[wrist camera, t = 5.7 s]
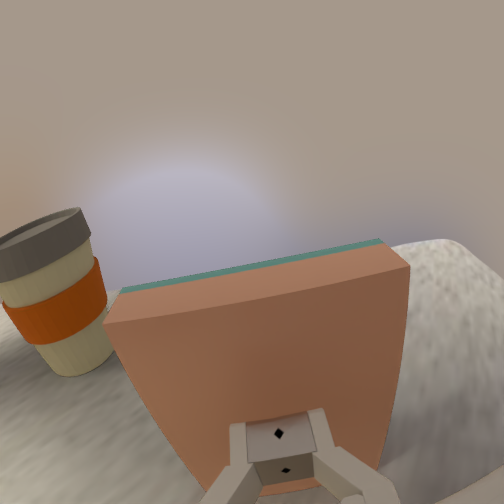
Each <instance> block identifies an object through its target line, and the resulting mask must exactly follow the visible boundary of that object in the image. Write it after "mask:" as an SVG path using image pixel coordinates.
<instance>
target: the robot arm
mask: <svg viewBox="0 0 504 504" xmlns="http://www.w3.org/2000/svg"><path fill="white" fill-rule="evenodd" d="M229 434H230V466H225V468H224V469H223V471H222V472H221V473H220V475H219V476H218V478H217V479H216V480H215V482H214V483H213V484H212V486H211V487H210V488H209V490H208V491H207V492H206V494H205V495H204V496H203V498H202V499H201V500H200V502H199V503H198V504H255V502H256V500H257V498H258V497H259V495H260V493H261V491H262V489H263V486H266V485H272V484H278V483H283V482H288V480H289V481H295V480H301V479H306V478H312V477H314V478H315V479H316V480H317V481H318V482H319V483H320V484H322V485H323V486H324V487H325V488H326V489H327V490H328V491H329V492H330V493H332V494H333V495H334V496H335V497H336V498H337V499H338V500H340V501H341V502H340V504H401V503H400V500H399V497H398V495H397V492H396V489H395V487H394V484H393V482H392V481H390V480H389V479H387V478H386V477H384V476H383V475H381V474H380V473H378V472H377V471H375V470H374V469H372V468H371V467H369V466H368V465H366V464H365V463H363V462H362V461H360V460H359V459H357V458H356V457H355V456H353V455H352V454H350V453H349V452H347V451H346V450H345V449H343V448H342V447H340V446H338V447H335V445H334V441H333V438H332V435H331V431H330V428H329V425H328V421H327V418H326V415H325V412H324V409H323V408H318V409H314V410H309V411H303V412H298V413H294V414H289V415H284V416H279V417H276V418H271V419H264V420H257V421H249V422H241V423H233V424H230V428H229ZM434 504H504V465H502V466H501V467H499V468H498V469H496V470H494V471H493V472H491V473H490V474H488V475H486V476H485V477H483V478H481V479H480V480H478V481H476V482H475V483H473V484H471V485H469V486H467V487H466V488H464V489H462V490H460V491H458V492H456V493H454V494H452V495H450V496H448V497H446V498H444V499H442V500H440V501H438V502H436V503H434Z"/></svg>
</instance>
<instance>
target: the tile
mask: <svg viewBox="0 0 504 504" xmlns="http://www.w3.org/2000/svg"><path fill="white" fill-rule="evenodd" d="M409 282H410V265H409V264H408V263H407V262H406V261H405V260H404V259H402V258H401V257H400V256H399V255H398V254H397V253H396V252H394V251H393V250H392V249H391V248H390V247H389V246H387V245H386V244H385V243H384V242H383V241H381V240H380V239H379V238H378V239H374V240H369V241H364V242H359V243H355V244H349V245H344V246H339V247H334V248H329V249H324V250H319V251H315V252H309V253H304V254H299V255H294V256H289V257H284V258H278V259H274V260H268V261H263V262H258V263H253V264H247V265H243V266H237V267H232V268H227V269H221V270H216V271H211V272H206V273H200V274H195V275H190V276H184V277H179V278H174V279H168V280H163V281H157V282H153V283H147V284H141V285H136V286H130V287H125V288H122V290H121V292H120V293H119V295H118V297H117V298H116V300H115V302H114V304H113V305H112V307H111V309H110V311H109V312H108V314H107V316H106V318H105V320H104V321H103V323H102V326H103V328H104V330H105V332H106V334H107V336H108V338H109V340H110V342H111V344H112V346H113V348H114V350H115V352H116V354H117V356H118V358H119V360H120V362H121V363H122V365H123V367H124V369H125V371H126V373H127V374H128V376H129V378H130V380H131V382H132V383H133V385H134V387H135V389H136V390H137V392H138V394H139V395H140V397H141V399H142V400H143V402H144V404H145V405H146V407H147V409H148V410H149V412H150V414H151V415H152V417H153V418H154V420H155V421H156V423H157V424H158V426H159V428H160V429H161V431H162V432H163V434H164V435H165V437H166V438H167V440H168V441H169V442H170V444H171V445H172V447H173V448H174V450H175V451H176V452H177V454H178V455H179V457H180V458H181V459H182V461H183V462H184V464H185V465H186V466H187V468H188V469H189V470H190V472H191V473H192V474H193V476H194V477H195V478H196V479H197V481H198V482H199V483H200V484H201V486H202V487H203V488H204V489H205V491H206V492H207V491H208V490H209V488H210V487H211V486H212V484H213V483H214V482H215V480H216V479H217V478H218V476H219V475H220V473H221V472H222V471H223V469H224V468H225V466H230V434H229V428H230V424H233V423H241V422H249V421H257V420H264V419H271V418H276V417H279V416H284V415H289V414H294V413H298V412H303V411H309V410H314V409H318V408H323V409H324V412H325V415H326V418H327V421H328V425H329V428H330V431H331V435H332V438H333V441H334V445H335V447H338V446H340V447H342V448H343V449H345V450H346V451H347V452H349V453H350V454H352V455H353V456H355V457H356V458H357V459H359V460H360V461H362V462H363V463H365V464H366V465H368V466H369V467H371V468H372V469H374V470H375V471H377V468H378V465H379V461H380V458H381V454H382V450H383V447H384V443H385V439H386V435H387V431H388V427H389V422H390V418H391V413H392V409H393V404H394V399H395V394H396V389H397V383H398V377H399V371H400V365H401V359H402V352H403V344H404V337H405V328H406V319H407V308H408V296H409ZM318 486H323V485H322V484H320V483H319V482H318V481H317V480H316V479H315V478H314V477H312V478H306V479H301V480H295V481H289V480H288V482H283V483H278V484H272V485H266V486H263V489H262V491H261V493H260V495H259V497H260V496H268V495H275V494H281V493H287V492H293V491H299V490H304V489H309V488H313V487H318Z"/></svg>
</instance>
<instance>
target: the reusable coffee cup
mask: <svg viewBox="0 0 504 504" xmlns="http://www.w3.org/2000/svg"><path fill="white" fill-rule="evenodd" d="M90 236H91V232H90V229H89V227H88V225H87V223H86V220H85V218H84V215H83V213H82V211H81V208H79V207H77V208H71V209H66V210H63V211H59V212H56V213H53V214H50V215H48V216H45V217H42V218H40V219H37V220H35V221H33V222H30V223H28V224H26V225H24V226H21V227H19V228H18V229H15V230H13V231H12V232H10V233H8V234H6V235H4V236H2V237H1V238H0V296H1V298H2V299H3V303H2V305H3V308H4V309H5V311H6V312H7V314H8V316H9V317H10V319H11V320H12V322H13V323H14V324H15V326H16V327H17V329H18V330H19V332H20V333H21V335H22V336H23V337H24V339H25V340H26V341H27V342H28V343H31V344H33V345H34V347H35V348H36V349H37V351H38V352H39V353H40V354H41V356H42V357H43V358H44V360H45V361H46V362H47V363H48V365H49V366H50V367H51V368H52V370H53V371H54V372H55V373H56V374H58V375H60V376H65V377H73V376H79V375H82V374H85V373H87V372H89V371H91V370H93V369H95V368H97V367H98V366H100V365H101V364H102V363H103V362H105V361H106V360H107V358H108V357H109V356H110V355H111V354H112V352H113V351H114V348H113V346H112V344H111V342H110V340H109V338H108V336H107V334H106V332H105V330H104V328H103V326H102V323H103V321H104V320H105V318H106V316H107V314H108V311H107V308H106V304H107V294H106V291H105V287H104V283H103V279H102V275H101V271H100V267H99V262H98V259H97V258H96V257H94V256H93V253H92V248H91V244H90V240H89V237H90Z"/></svg>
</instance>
